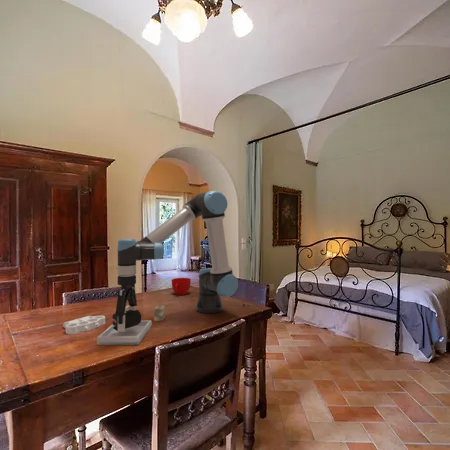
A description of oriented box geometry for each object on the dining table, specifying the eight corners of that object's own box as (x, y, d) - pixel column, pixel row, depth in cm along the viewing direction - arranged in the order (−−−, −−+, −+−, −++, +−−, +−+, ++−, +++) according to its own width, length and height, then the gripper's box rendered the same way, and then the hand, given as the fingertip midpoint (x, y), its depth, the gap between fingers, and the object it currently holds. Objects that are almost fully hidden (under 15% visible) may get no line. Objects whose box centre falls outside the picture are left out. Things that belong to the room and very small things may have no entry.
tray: (151, 326, 131) (151, 320, 131) (138, 345, 111) (138, 337, 111) (117, 326, 131) (117, 320, 131) (97, 344, 111) (97, 337, 111)
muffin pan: (93, 319, 143) (111, 324, 135) (55, 330, 127) (73, 337, 120) (93, 312, 143) (111, 317, 135) (55, 323, 127) (73, 329, 120)
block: (164, 317, 145) (164, 305, 145) (162, 321, 139) (162, 309, 139) (156, 317, 145) (157, 305, 145) (153, 321, 139) (153, 309, 139)
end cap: (119, 333, 115) (119, 316, 115) (111, 329, 120) (111, 312, 120) (141, 326, 122) (141, 311, 122) (132, 323, 127) (133, 307, 127)
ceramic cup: (166, 297, 186) (166, 282, 186) (175, 291, 202) (175, 277, 202) (185, 298, 183) (185, 282, 183) (192, 292, 200) (192, 278, 200)
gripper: (127, 270, 133) (127, 316, 133) (106, 280, 109) (106, 336, 109) (143, 270, 133) (143, 317, 133) (125, 280, 109) (125, 336, 109)
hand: (126, 326), depth 121 cm, fingers closed on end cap, 12 cm apart
